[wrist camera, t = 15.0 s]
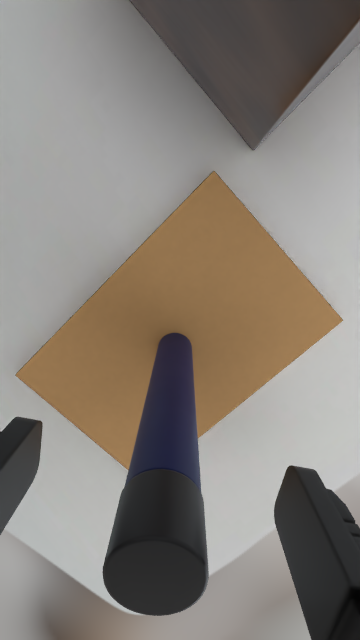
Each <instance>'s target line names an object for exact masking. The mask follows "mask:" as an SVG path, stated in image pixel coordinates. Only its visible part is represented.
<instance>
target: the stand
mask: <svg viewBox="0 0 360 640" xmlns="http://www.w3.org/2000/svg"><path fill="white" fill-rule="evenodd" d="M130 1H131V2H132V4H133V5H134V6H135V7H136V9H137V10H138V11H139V12H140V13H141V15H142V16H143V17H144V18H145V19H146V21H147V22H148V23H149V24H150V26H151V27H152V28H153V29H154V30H155V32H156V33H157V34H158V35H159V37H160V38H161V39H162V40H163V41H164V43H165V44H166V45H167V46H168V47H169V49H170V50H171V51H172V52H173V54H174V55H175V56H176V57H177V58H178V60H179V61H180V62H181V63H182V65H183V66H184V67H185V68H186V69H187V71H188V72H189V73H190V74H191V75H192V77H193V78H194V79H195V80H196V82H197V83H198V84H199V85H200V86H201V88H202V89H203V90H204V91H205V93H206V94H207V95H208V96H209V97H210V99H211V100H212V101H213V102H214V103H215V105H216V106H217V107H218V108H219V110H220V111H221V112H222V113H223V114H224V116H225V117H226V118H227V119H228V121H229V122H230V123H231V124H232V125H233V127H234V128H235V129H236V130H237V131H238V133H239V134H240V135H241V136H242V138H243V139H244V140H245V141H246V142H247V144H248V145H249V146H250V147H251V149H252V150H254V149H255V148H256V147H257V146H258V145H259V144H260V143H261V142H262V141H263V140H264V139H265V138H266V137H267V136H268V135H269V134H270V133H271V132H272V131H273V130H274V129H275V128H276V127H277V126H278V125H279V124H280V123H281V122H282V121H283V120H284V119H285V118H286V117H287V116H288V115H289V114H290V113H291V112H292V111H293V110H294V109H295V108H296V107H297V106H298V105H299V104H300V103H301V102H302V101H303V100H304V99H305V98H306V97H307V96H308V95H309V94H310V93H311V92H312V91H313V90H314V89H315V88H316V87H317V86H318V85H319V84H320V83H321V82H322V81H323V80H324V79H325V78H326V77H327V76H328V75H329V74H330V73H331V72H332V71H333V70H334V69H335V68H336V67H337V66H338V64H339V63H340V62H341V61H342V60H343V59H344V58H345V57H346V56H347V55H348V54H349V53H350V52H351V51H352V50H353V49H354V48H355V47H356V46H357V45H358V44H359V43H360V0H130Z"/></svg>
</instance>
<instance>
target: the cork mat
mask: <svg viewBox="0 0 360 640" xmlns="http://www.w3.org/2000/svg"><path fill="white" fill-rule="evenodd" d="M342 321H343V320H342V318H341V317H340V316H339V315H338V314H337V313H336V311H335V310H334V309H333V308H332V307H331V306H330V304H329V303H328V302H327V301H326V300H325V299H324V298H323V296H322V295H321V294H320V293H319V292H318V291H317V289H316V288H315V287H314V286H313V285H312V284H311V282H310V281H309V280H308V279H307V278H306V277H305V275H304V274H303V273H302V272H301V271H300V270H299V269H298V267H297V266H296V265H295V264H294V263H293V262H292V260H291V259H290V258H289V257H288V256H287V255H286V253H285V252H284V251H283V250H282V249H281V248H280V247H279V245H278V244H277V243H276V242H275V241H274V240H273V238H272V237H271V236H270V235H269V234H268V233H267V231H266V230H265V229H264V228H263V227H262V226H261V224H260V223H259V222H258V221H257V220H256V219H255V218H254V216H253V215H252V214H251V213H250V212H249V211H248V209H247V208H246V207H245V206H244V205H243V204H242V202H241V201H240V200H239V199H238V198H237V197H236V196H235V194H234V193H233V192H232V191H231V190H230V189H229V187H228V186H227V185H226V184H225V183H224V182H223V180H222V179H221V178H220V177H219V176H218V175H217V173H216V172H215V171H213V172H212V173H211V174H210V175H209V176H208V177H207V178H206V179H205V180H204V181H203V182H202V183H201V184H200V185H199V187H198V188H197V189H196V190H195V191H194V192H193V193H192V194H191V195H190V196H189V197H188V198H187V199H186V200H185V201H184V202H183V203H182V204H181V205H180V206H179V207H178V208H177V209H176V210H175V211H174V212H173V213H172V214H171V215H170V216H169V217H168V218H167V219H166V220H165V221H164V222H163V224H162V225H161V226H160V227H159V228H158V229H157V230H156V231H155V232H154V233H153V234H152V235H151V236H150V237H149V238H148V239H147V240H146V241H145V242H144V243H143V244H142V245H141V246H140V247H139V248H138V249H137V250H136V251H135V252H134V253H133V254H132V255H131V256H130V257H129V258H128V259H127V261H126V262H125V263H124V264H123V265H122V266H121V267H120V268H119V269H118V270H117V271H116V272H115V273H114V274H113V275H112V276H111V277H110V278H109V279H108V280H107V281H106V282H105V283H104V284H103V285H102V286H101V287H100V288H99V289H98V290H97V291H96V292H95V293H94V294H93V295H92V296H91V298H90V299H89V300H88V301H87V302H86V303H85V304H84V305H83V306H82V307H81V308H80V309H79V310H78V311H77V312H76V313H75V314H74V315H73V316H72V317H71V318H70V319H69V320H68V321H67V322H66V323H65V324H64V325H63V326H62V327H61V328H60V329H59V330H58V331H57V332H56V333H55V335H54V336H53V337H52V338H51V339H50V340H49V341H48V342H47V343H46V344H45V345H44V346H43V347H42V348H41V349H40V350H39V351H38V352H37V353H36V354H35V355H34V356H33V357H32V358H31V359H30V360H29V361H28V362H27V363H26V364H25V365H24V366H23V367H22V368H21V369H20V370H19V371H18V373H17V374H16V376H17V377H18V378H19V379H20V380H22V381H23V382H24V383H25V384H26V385H27V386H29V387H30V388H31V389H32V390H33V391H35V392H36V393H37V394H38V395H39V396H41V397H42V398H43V399H44V400H45V401H47V402H48V403H49V404H50V405H51V406H53V407H54V408H55V409H56V410H57V411H58V412H60V413H61V414H62V415H63V416H64V417H66V418H67V419H68V420H69V421H70V422H72V423H73V424H74V425H75V426H76V427H78V428H79V429H80V430H81V431H82V432H83V433H85V434H86V435H87V436H88V437H89V438H91V439H92V440H93V441H94V442H95V443H97V444H98V445H99V446H100V447H101V448H103V449H104V450H105V451H106V452H107V453H109V454H110V455H111V456H112V457H113V458H114V459H116V460H117V461H118V462H119V463H120V464H122V465H123V466H124V467H125V468H126V469H128V470H129V466H130V462H131V458H132V454H133V450H134V445H135V441H136V437H137V433H138V429H139V424H140V420H141V416H142V412H143V407H144V403H145V399H146V395H147V391H148V386H149V382H150V378H151V374H152V370H153V365H154V361H155V357H156V353H157V349H158V344H159V342H160V340H161V339H162V338H163V337H164V336H165V335H167V334H170V333H180V334H182V335H184V336H186V337H187V338H188V339H189V341H190V342H191V345H192V356H193V372H194V388H195V404H196V420H197V435H198V438H199V437H200V436H202V435H203V434H204V433H205V432H206V431H208V430H209V429H210V428H211V427H213V426H214V425H215V424H216V423H218V422H219V421H220V420H221V419H222V418H224V417H225V416H226V415H227V414H229V413H230V412H231V411H232V410H234V409H235V408H236V407H237V406H238V405H240V404H241V403H242V402H243V401H245V400H246V399H247V398H248V397H250V396H251V395H252V394H253V393H254V392H256V391H257V390H258V389H259V388H261V387H262V386H263V385H264V384H266V383H267V382H268V381H269V380H271V379H272V378H273V377H274V376H275V375H277V374H278V373H279V372H280V371H282V370H283V369H284V368H285V367H287V366H288V365H289V364H290V363H291V362H293V361H294V360H295V359H296V358H298V357H299V356H300V355H301V354H303V353H304V352H305V351H306V350H307V349H309V348H310V347H311V346H312V345H314V344H315V343H316V342H317V341H319V340H320V339H321V338H322V337H323V336H325V335H326V334H327V333H328V332H330V331H331V330H332V329H333V328H335V327H336V326H337V325H338V324H339V323H341V322H342Z"/></svg>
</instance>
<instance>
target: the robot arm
mask: <svg viewBox="0 0 360 640" xmlns="http://www.w3.org/2000/svg"><path fill="white" fill-rule="evenodd" d="M41 437H42V422H41V421H39V420H33V419H28V418H22V417H15V418H14V419H13V420H12V421H11V422H10V423H9V424H8V425H7V426H6V428H5V429H4V430H3V431H2V432H0V535H1V533H2V531H3V530H4V528H5V526H6V525H7V523H8V521H9V520H10V518H11V517H12V515H13V513H14V512H15V510H16V508H17V507H18V505H19V503H20V502H21V500H22V499H23V497H24V495H25V494H26V492H27V490H28V489H29V487H30V485H31V484H32V482H33V480H34V478H35V475H36V473H37V470H38V466H39V460H40V449H41ZM274 518H275V524H276V528H277V531H278V534H279V537H280V540H281V543H282V547H283V550H284V553H285V556H286V560H287V563H288V566H289V569H290V572H291V576H292V579H293V582H294V585H295V588H296V592H297V595H298V598H299V601H300V604H301V607H302V611H303V614H304V617H305V620H306V623H307V626H308V630H309V633H310V636H311V639H312V640H360V528H359V527H358V525H357V524H355V520H354V518H353V517H352V515H351V513H350V512H349V510H348V508H347V506H346V505H345V504H344V503H343V502H342V501H341V500H340V499H339V498H338V496H337V495H336V494H335V493H334V492H333V491H332V490H329V489H326V488H325V486H324V484H323V482H322V481H321V479H320V477H319V475H318V473H317V472H316V471H315V470H314V469H308V468H303V467H297V466H289V467H288V468H287V470H286V473H285V476H284V479H283V482H282V485H281V488H280V490H279V493H278V496H277V499H276V502H275V508H274Z"/></svg>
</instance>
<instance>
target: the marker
mask: <svg viewBox="0 0 360 640" xmlns="http://www.w3.org/2000/svg"><path fill="white" fill-rule="evenodd" d="M103 579H104V584H105V587H106V589H107V591H108V592H109V594H110V595H111V596H112V597H113V599H114V600H115V601H117V602H118V603H119V604H120V605H122V606H123V607H125V608H127V609H129V610H131V611H134V612H137V613H140V614H145V615H154V616H156V615H157V616H162V615H170V614H174V613H178V612H181V611H183V610H185V609H187V608H189V607H191V606H192V605H193V604H195V603H196V602H197V601H198V600H199V599H200V598H201V596H202V595H203V593H204V591H205V589H206V586H207V582H208V559H207V545H206V530H205V516H204V502H203V497H202V494H201V483H200V467H199V451H198V435H197V420H196V404H195V388H194V372H193V356H192V345H191V342H190V341H189V339H188V338H187V337H186V336H184V335H182V334H180V333H170V334H167V335H165V336H164V337H163V338H162V339H161V340H160V342H159V344H158V349H157V353H156V357H155V361H154V365H153V370H152V374H151V378H150V382H149V386H148V391H147V395H146V399H145V403H144V407H143V412H142V416H141V420H140V424H139V429H138V433H137V437H136V441H135V445H134V450H133V454H132V458H131V462H130V466H129V471H128V475H127V479H126V483H125V487H124V489H123V491H122V493H121V496H120V500H119V504H118V509H117V513H116V517H115V521H114V525H113V529H112V533H111V537H110V541H109V545H108V549H107V553H106V557H105V562H104V566H103Z"/></svg>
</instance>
